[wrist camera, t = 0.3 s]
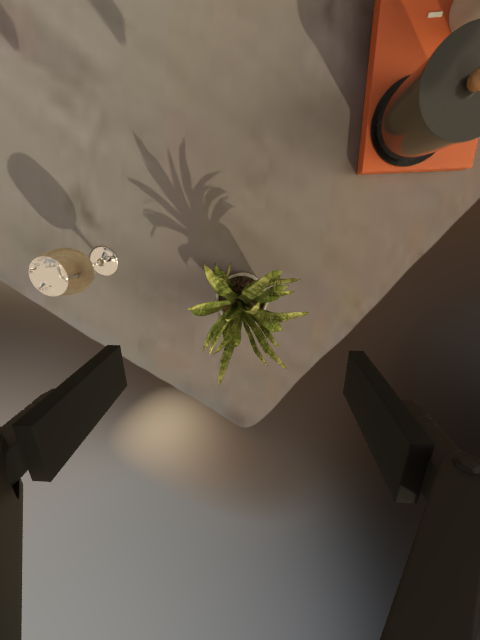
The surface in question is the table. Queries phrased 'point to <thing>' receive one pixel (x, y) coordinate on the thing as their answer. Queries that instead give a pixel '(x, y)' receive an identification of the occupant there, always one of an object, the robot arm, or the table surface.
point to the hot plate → (405, 74)
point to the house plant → (244, 311)
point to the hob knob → (463, 13)
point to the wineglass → (70, 270)
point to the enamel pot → (436, 100)
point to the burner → (375, 139)
